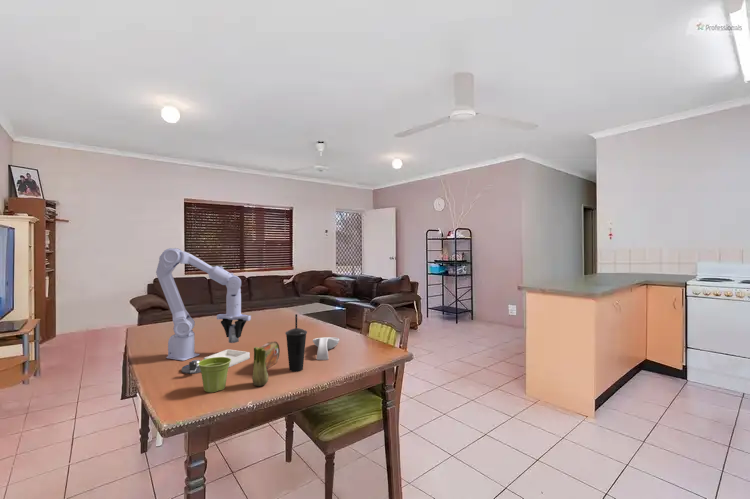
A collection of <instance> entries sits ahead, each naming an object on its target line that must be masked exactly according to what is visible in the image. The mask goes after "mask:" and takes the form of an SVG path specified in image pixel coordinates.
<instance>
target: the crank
mask: <svg viewBox="0 0 750 499" xmlns="http://www.w3.org/2000/svg"><path fill="white" fill-rule="evenodd" d="M200 361H201V359H193V360H191V361H189V362H188V365H189V370H190V373H191V372H196V370H197V367H198V366H199V365H198V362H200Z"/></svg>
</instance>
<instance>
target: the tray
mask: <svg viewBox="0 0 750 499" xmlns="http://www.w3.org/2000/svg"><path fill="white" fill-rule="evenodd" d="M250 354H251V353H250V351H245V350H243V351H242V350H235V349H224V350H222V351H219V352H216V353H213V354H210V355H209V356H208V355H207V356H205V357H203V359H202V360H204V359H208V358H213V357H227V358H230V359H231V362H230V364H229V367H228V369H229V368H230V367H234V366H236V365H238V364H240V363H243V362H245V361H247V360H249V359H251V358H250V356H251V355H250Z"/></svg>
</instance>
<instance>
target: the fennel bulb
mask: <svg viewBox="0 0 750 499" xmlns="http://www.w3.org/2000/svg"><path fill="white" fill-rule="evenodd" d="M265 352H266V351H265V349H263V347H262V348H259V347H258V346H254V347H253V368H252V376H251V377H252V378H251V379H252V384H253V386H255V387H262V386H265V385H266V384H267V383H268V382H269V374H268V371H267V370H268V369H267V370H266V364H265Z"/></svg>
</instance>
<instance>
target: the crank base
mask: <svg viewBox="0 0 750 499" xmlns="http://www.w3.org/2000/svg"><path fill="white" fill-rule="evenodd" d="M181 373H183V374H185V375H188V374H189V375H193V374H194V375H195V374H200V373H201V370H200V366H198V367H197V370H196V372H191V373H190V370H189V364H186V365H184V366H182V367H181Z"/></svg>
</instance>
